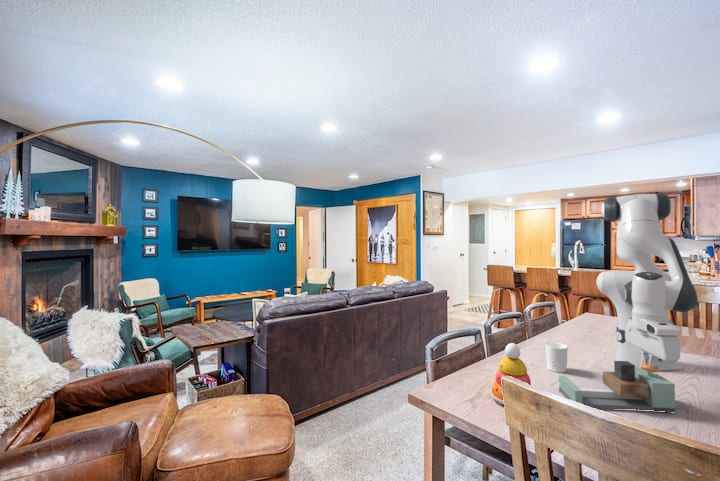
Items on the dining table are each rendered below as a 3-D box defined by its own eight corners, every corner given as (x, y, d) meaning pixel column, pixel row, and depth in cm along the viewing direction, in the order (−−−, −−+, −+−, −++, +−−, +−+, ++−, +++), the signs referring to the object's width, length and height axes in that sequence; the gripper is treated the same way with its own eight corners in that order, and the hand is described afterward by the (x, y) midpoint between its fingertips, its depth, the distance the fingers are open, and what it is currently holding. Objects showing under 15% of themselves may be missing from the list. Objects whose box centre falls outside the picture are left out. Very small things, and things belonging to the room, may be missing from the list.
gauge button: (652, 372, 111) (652, 363, 111) (662, 378, 106) (662, 368, 106) (637, 372, 111) (637, 362, 111) (647, 377, 107) (646, 367, 107)
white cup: (560, 374, 132) (559, 349, 132) (541, 368, 139) (541, 344, 139) (572, 370, 136) (571, 346, 136) (553, 364, 143) (553, 341, 143)
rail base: (647, 394, 114) (647, 368, 114) (675, 413, 103) (674, 384, 102) (559, 390, 119) (558, 365, 119) (575, 407, 107) (574, 379, 107)
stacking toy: (488, 388, 122) (487, 335, 121) (532, 393, 118) (531, 337, 117) (492, 408, 108) (491, 347, 108) (541, 414, 104) (540, 351, 104)
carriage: (628, 384, 114) (628, 357, 114) (648, 398, 105) (648, 369, 104) (602, 383, 116) (602, 357, 116) (620, 396, 106) (620, 368, 106)
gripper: (619, 315, 119) (619, 354, 119) (660, 331, 99) (661, 377, 99) (638, 315, 118) (639, 354, 118) (685, 331, 98) (685, 378, 98)
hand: (649, 365), depth 109 cm, fingers closed, pressing on gauge button
